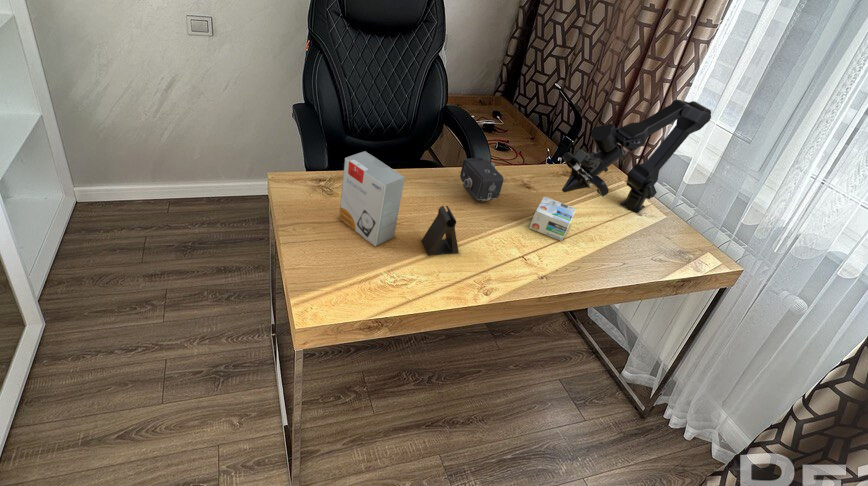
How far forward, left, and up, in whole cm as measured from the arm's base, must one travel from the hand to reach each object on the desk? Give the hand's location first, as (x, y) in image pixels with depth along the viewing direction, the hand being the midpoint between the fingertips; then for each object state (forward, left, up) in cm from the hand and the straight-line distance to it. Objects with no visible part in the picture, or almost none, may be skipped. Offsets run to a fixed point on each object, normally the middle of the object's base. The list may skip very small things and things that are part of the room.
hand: (562, 191), depth 159 cm
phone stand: (+45, -11, -9) cm, 47 cm away
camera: (+14, -22, -9) cm, 27 cm away
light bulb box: (+2, +1, -6) cm, 6 cm away
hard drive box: (+56, -29, -9) cm, 63 cm away
